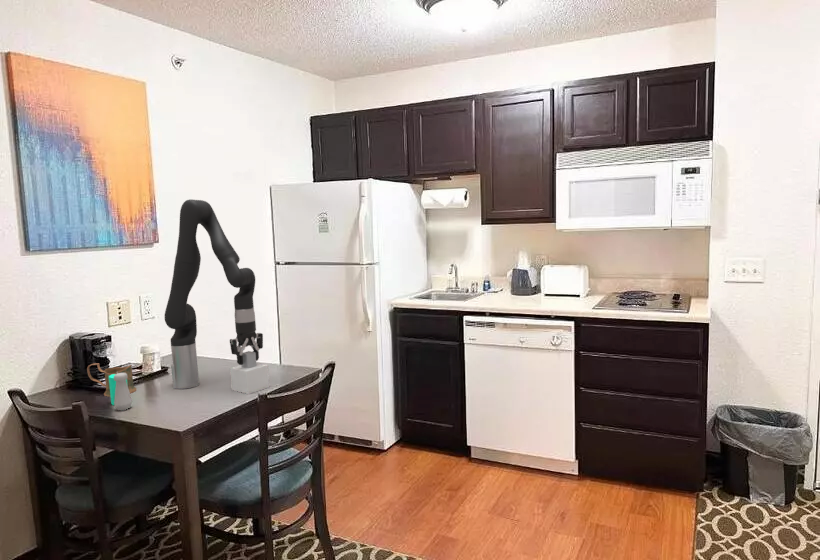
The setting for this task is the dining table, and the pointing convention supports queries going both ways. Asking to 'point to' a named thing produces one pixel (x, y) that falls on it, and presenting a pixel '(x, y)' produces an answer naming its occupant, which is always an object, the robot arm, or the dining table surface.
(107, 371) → the mug
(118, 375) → the salt shaker
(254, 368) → the white block with knob
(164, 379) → the dining table surface
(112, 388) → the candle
